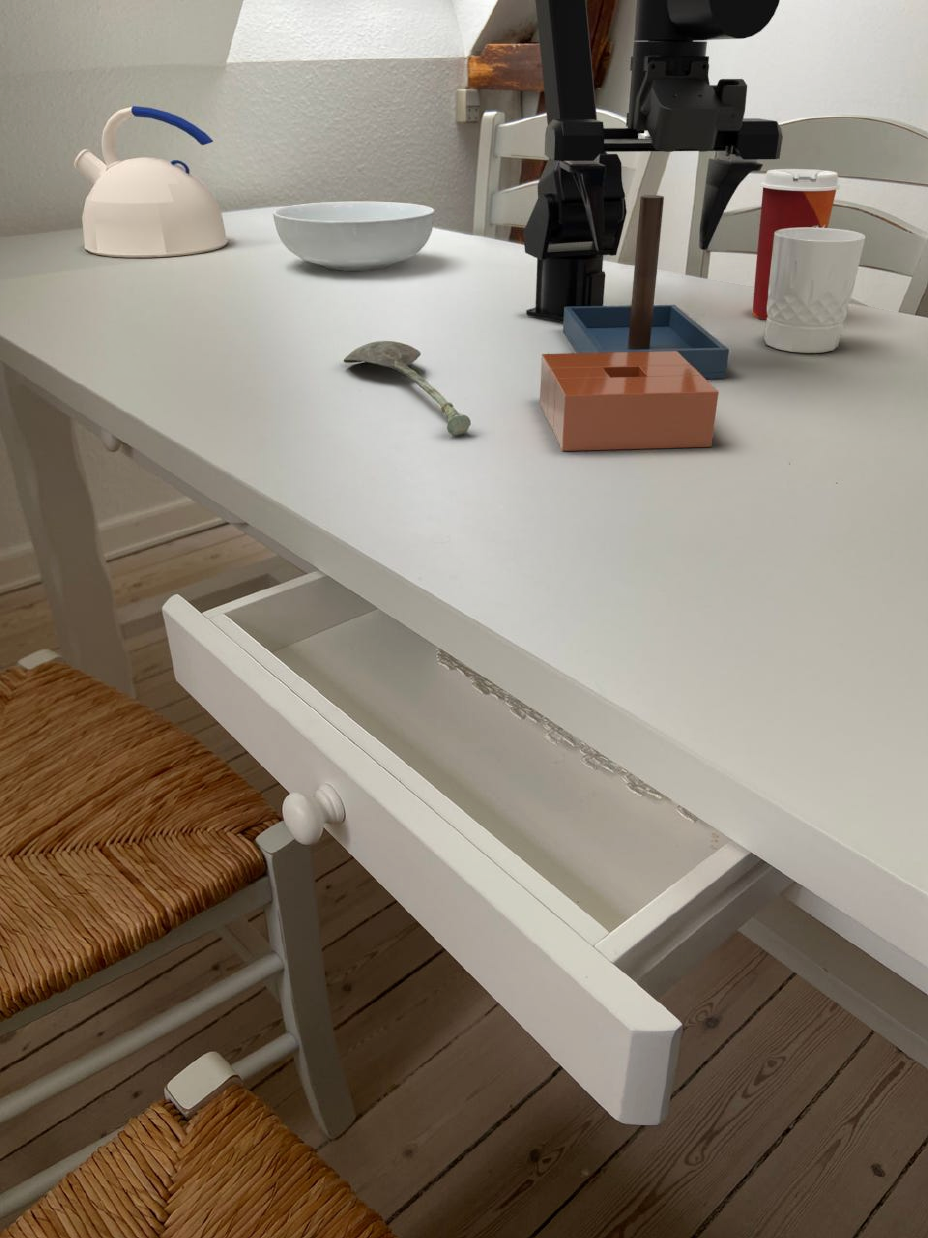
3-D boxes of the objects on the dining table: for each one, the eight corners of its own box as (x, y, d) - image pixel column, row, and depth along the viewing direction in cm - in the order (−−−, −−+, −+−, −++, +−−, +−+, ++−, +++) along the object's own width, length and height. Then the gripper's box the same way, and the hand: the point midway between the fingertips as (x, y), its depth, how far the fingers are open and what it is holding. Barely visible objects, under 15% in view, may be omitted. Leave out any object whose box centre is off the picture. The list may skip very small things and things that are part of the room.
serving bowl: (465, 260, 131) (465, 205, 128) (372, 287, 116) (369, 226, 112) (344, 246, 141) (341, 195, 137) (243, 269, 125) (237, 212, 122)
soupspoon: (406, 364, 89) (338, 375, 87) (403, 327, 88) (333, 337, 86) (500, 429, 71) (416, 444, 69) (498, 384, 69) (412, 398, 68)
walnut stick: (623, 347, 90) (636, 196, 83) (636, 343, 91) (649, 194, 85) (641, 351, 89) (655, 198, 82) (653, 347, 90) (668, 196, 83)
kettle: (120, 233, 151) (98, 102, 142) (248, 236, 149) (234, 103, 140) (55, 256, 134) (26, 108, 125) (199, 259, 131) (179, 109, 122)
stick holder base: (539, 403, 77) (541, 353, 75) (671, 400, 78) (677, 350, 76) (562, 451, 68) (565, 395, 66) (711, 447, 68) (719, 391, 66)
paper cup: (820, 325, 99) (847, 176, 92) (743, 322, 101) (764, 174, 94) (812, 308, 106) (837, 168, 99) (740, 305, 107) (759, 167, 100)
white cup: (844, 338, 95) (865, 229, 90) (843, 358, 88) (866, 242, 83) (761, 331, 97) (777, 225, 92) (754, 351, 91) (771, 238, 86)
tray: (562, 331, 97) (564, 306, 96) (672, 329, 98) (675, 304, 97) (596, 381, 82) (598, 351, 81) (725, 378, 83) (729, 349, 82)
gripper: (571, 39, 69) (560, 268, 77) (825, 39, 70) (789, 265, 78) (547, 42, 79) (540, 245, 86) (771, 42, 80) (744, 242, 88)
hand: (651, 249), depth 84 cm, fingers open, 9 cm apart
